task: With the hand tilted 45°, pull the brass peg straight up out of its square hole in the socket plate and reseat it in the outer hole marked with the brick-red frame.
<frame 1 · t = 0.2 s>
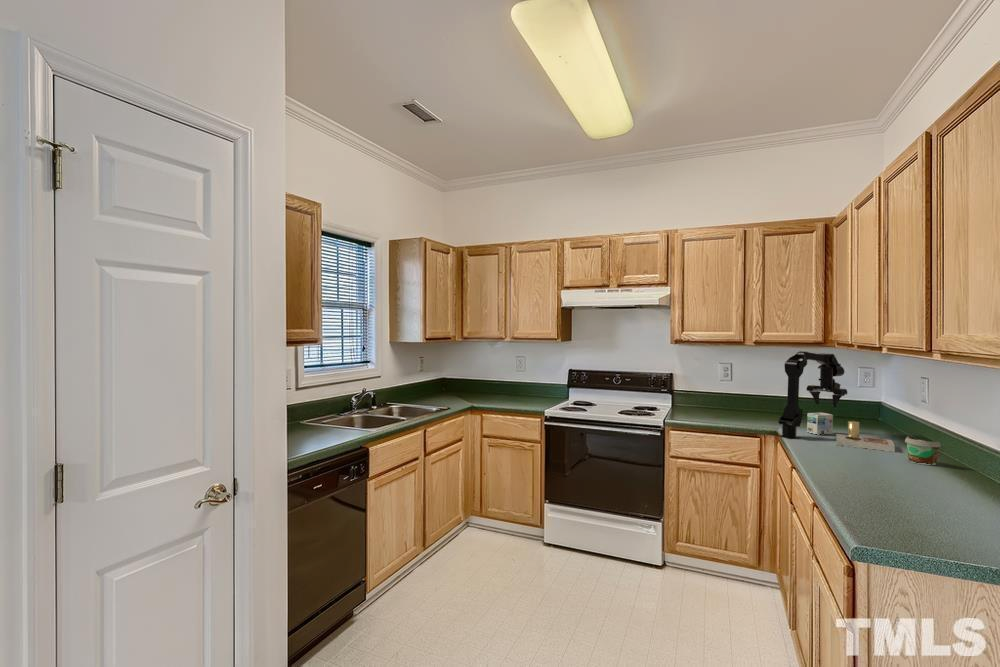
hand: (826, 405, 267), 15 cm above the countertop, tool pointing down, fingers open, 9 cm apart
brass peg: (853, 444, 242), resting in socket plate
food container: (918, 463, 210), on the countertop
socket plate: (864, 445, 240), on the countertop
light bulb box: (819, 434, 266), on the countertop
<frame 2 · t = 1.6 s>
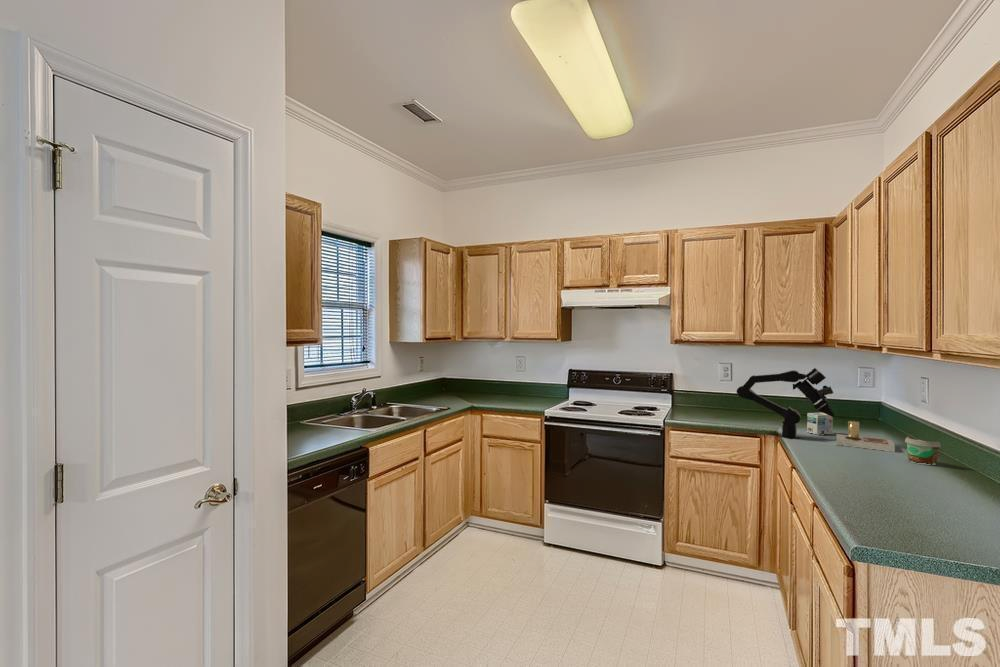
hand: (833, 415, 247), 13 cm above the countertop, tool tilted 45°, fingers open, 9 cm apart
nothing on the countertop moved.
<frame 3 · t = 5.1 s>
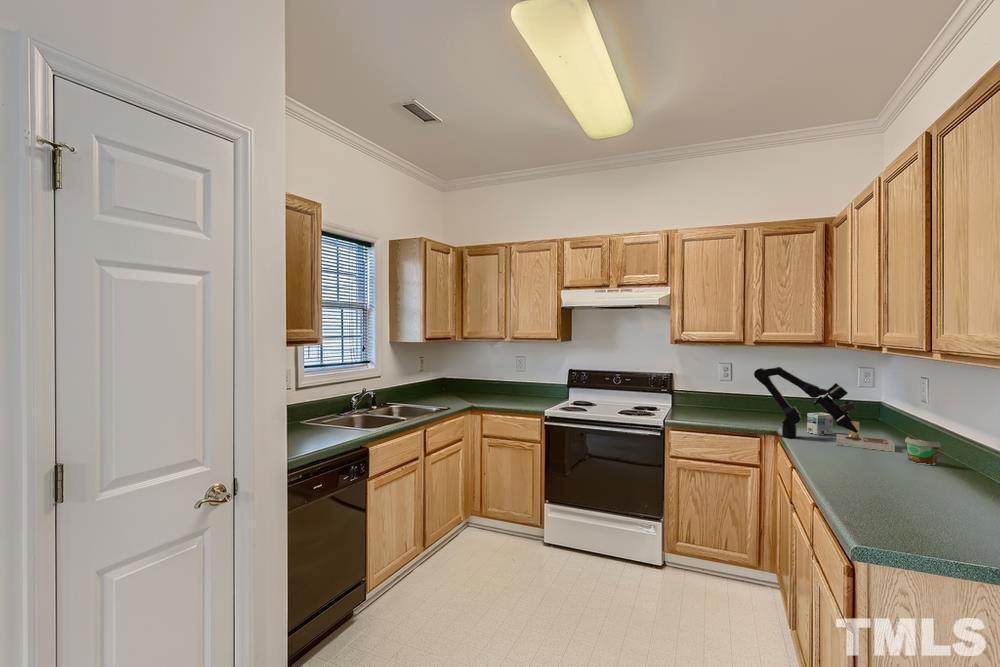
hand: (857, 431, 241), 7 cm above the countertop, tool tilted 45°, fingers closed on brass peg, 4 cm apart
brass peg: (853, 444, 242), resting in socket plate, touching gripper
everything else where it was.
when the fingers open (8 cm above the countertop, at t = 9.3 s): brass peg drops 1 cm, resting in socket plate.
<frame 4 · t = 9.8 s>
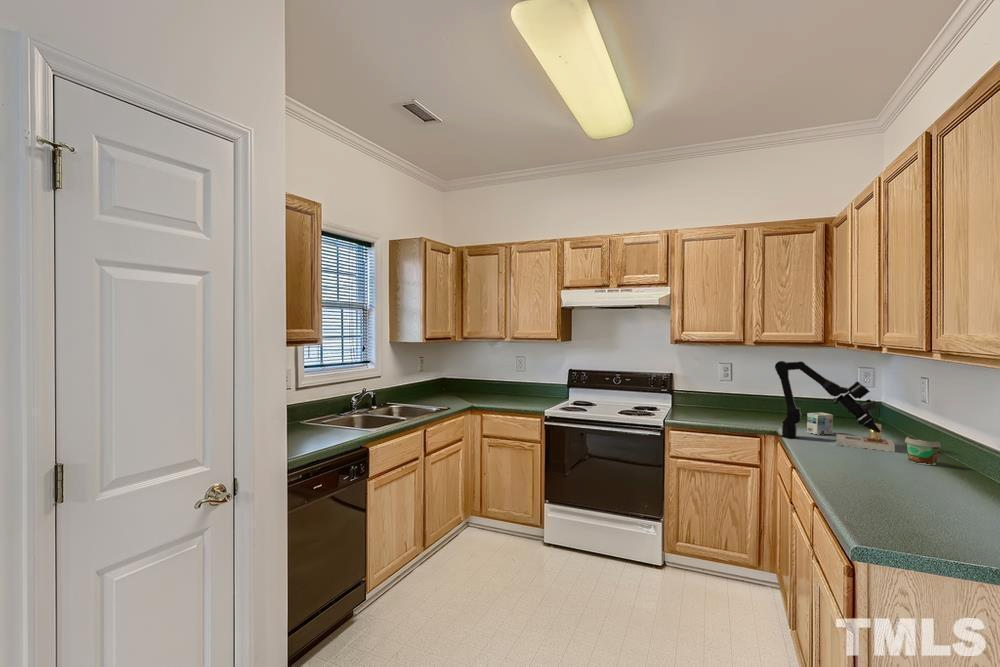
hand: (879, 430, 236), 8 cm above the countertop, tool tilted 45°, fingers open, 9 cm apart
brass peg: (874, 447, 237), resting in socket plate
everything else where it was.
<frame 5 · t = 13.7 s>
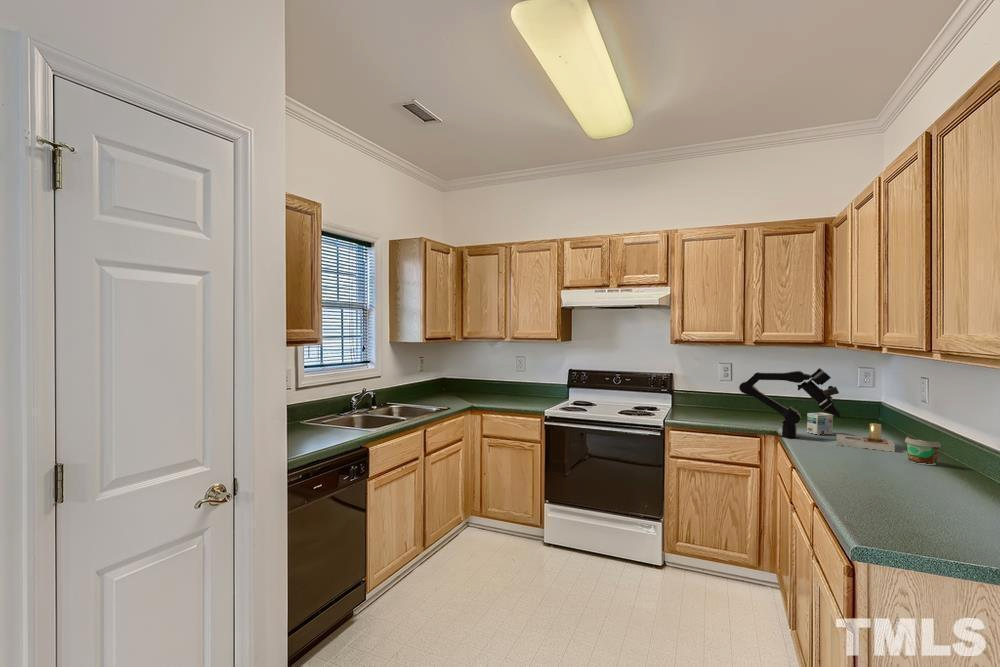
hand: (839, 415, 245), 14 cm above the countertop, tool tilted 45°, fingers open, 9 cm apart
nothing on the countertop moved.
at the end: brass peg 0.1 cm from the target spot on the socket plate, point 0.0 cm above the socket plate's base; brass peg tilted 0°; the gripper is holding nothing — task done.
